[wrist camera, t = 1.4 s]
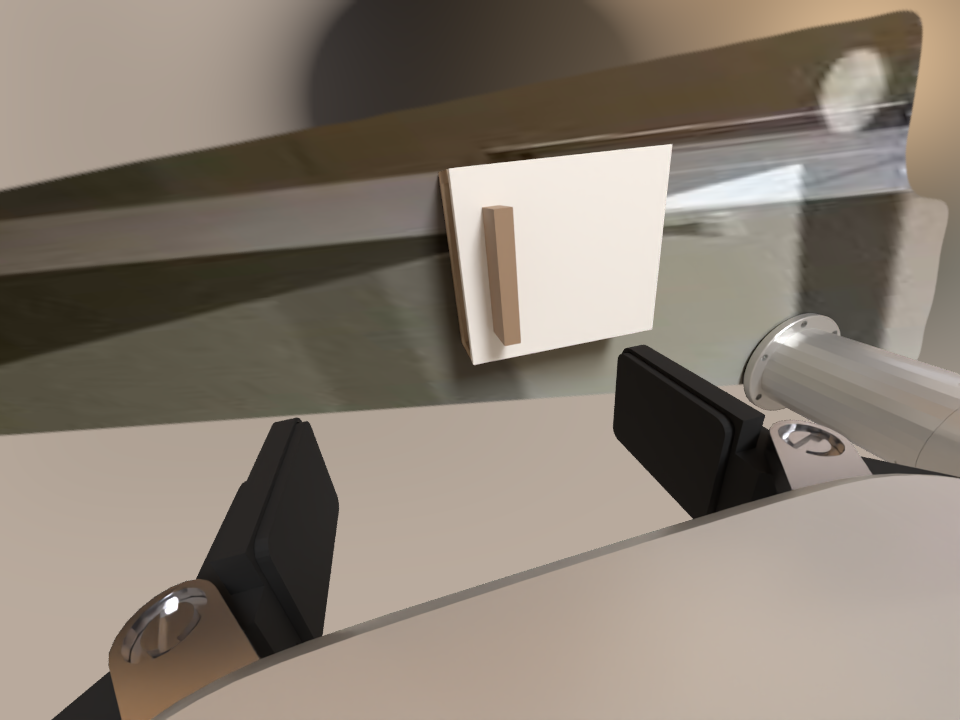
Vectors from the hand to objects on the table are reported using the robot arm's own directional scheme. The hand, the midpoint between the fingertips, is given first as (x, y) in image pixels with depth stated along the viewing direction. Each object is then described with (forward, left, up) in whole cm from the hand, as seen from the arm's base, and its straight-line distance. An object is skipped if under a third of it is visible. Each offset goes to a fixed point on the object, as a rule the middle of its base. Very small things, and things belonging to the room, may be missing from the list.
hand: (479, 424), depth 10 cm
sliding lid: (-10, -4, -18) cm, 21 cm away
